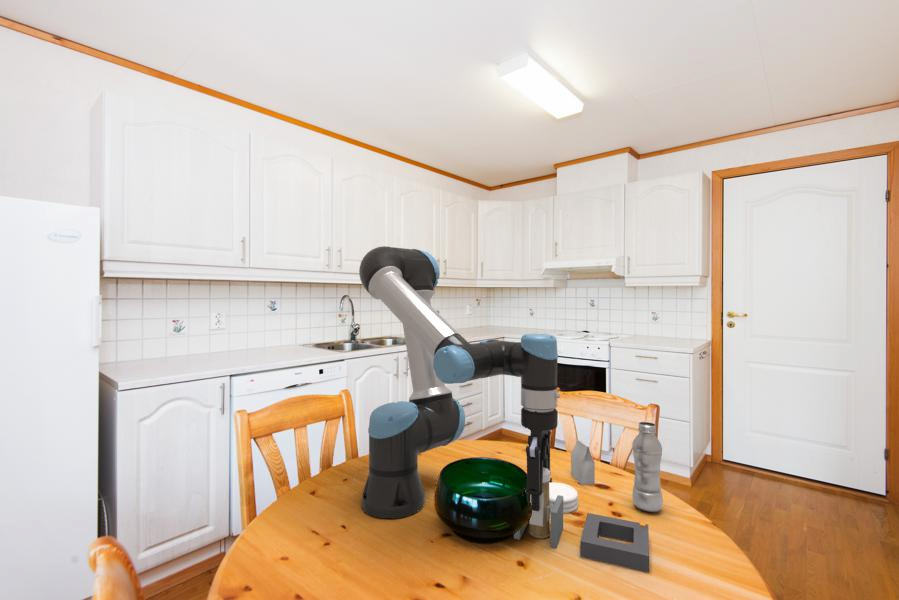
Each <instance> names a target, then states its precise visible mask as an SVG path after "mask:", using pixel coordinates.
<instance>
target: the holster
mask: <svg viewBox="0 0 899 600" xmlns="http://www.w3.org/2000/svg"><path fill="white" fill-rule="evenodd" d="M527 526H528V524H527V525H526V526H524V527H523V528H521V529H520V530H519V531H517V532H516V533H515V534H514V533H513V539H515V540H521V538H522V535H523V534H524V532H525V531H526V528H527ZM563 531H564V514H563V496H560V495H558V496H557V498H556V500H555V503H554V505H553V507H552V510H551V512H550V548H554V549H558V545H559V542H560V541H561V536H562V533H563Z"/></svg>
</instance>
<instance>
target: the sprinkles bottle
mask: <svg viewBox="0 0 899 600" xmlns="http://www.w3.org/2000/svg"><path fill="white" fill-rule="evenodd" d="M550 472H551V470H550V471H549V470H548V469H547V468H544V467H543V481H542V493H543V527H542V526H538V525H533V524H530V520H529V522H528V527H529V528H528V533H529V535H530V536H532V538H537V539H547V538H548V537H550V536H551V512H550V498H549V482H550V478H551V473H550Z"/></svg>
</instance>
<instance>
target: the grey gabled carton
mask: <svg viewBox="0 0 899 600" xmlns="http://www.w3.org/2000/svg"><path fill="white" fill-rule="evenodd" d="M595 464H596V463H595V461H594V458H593V456H592V454H591V450H590V447H589V446H587V445H586V443H584V442H582V440H580V439H576V441H575V444H574V447H573V449H572V451H571V453H570V475H572V476H573V477H574V478H575V479H576V480H575V479H574V480H575V481H577V482H578V484H580V486H593V485H595V484H596V483H595V481H596V480H595V479H596V478H595V474H596V473H595V469H596V467H595ZM572 476H571V477H572ZM573 477H572V478H573Z"/></svg>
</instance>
